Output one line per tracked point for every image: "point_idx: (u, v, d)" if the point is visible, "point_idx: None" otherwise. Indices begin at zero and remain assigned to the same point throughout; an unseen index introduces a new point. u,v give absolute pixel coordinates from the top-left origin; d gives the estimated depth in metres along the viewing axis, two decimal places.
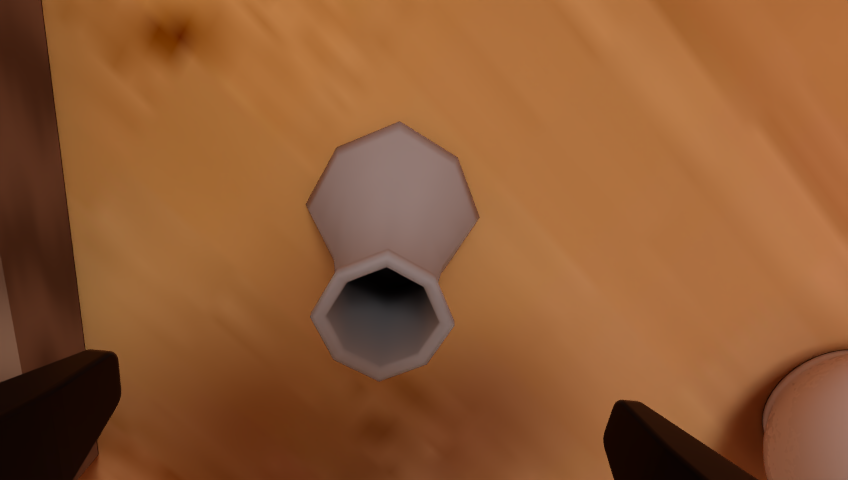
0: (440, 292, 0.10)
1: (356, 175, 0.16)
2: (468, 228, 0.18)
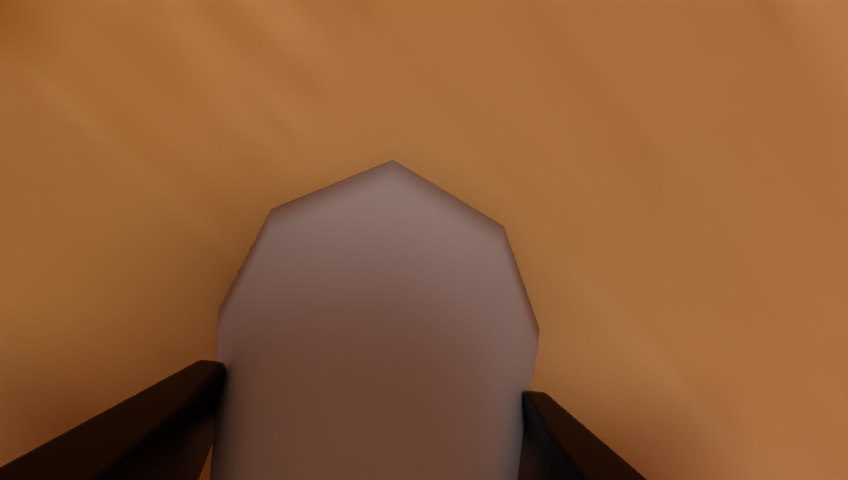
0: None
1: (294, 292, 0.07)
2: (530, 376, 0.09)
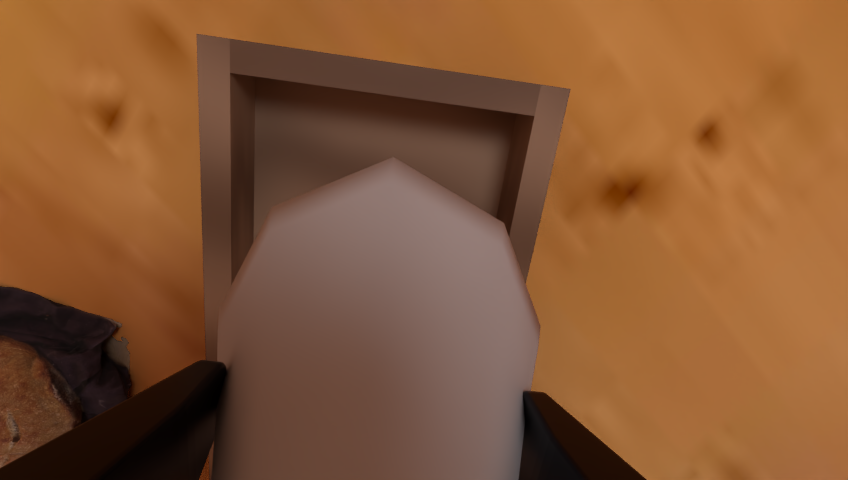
0: None
1: (295, 289, 0.07)
2: (531, 373, 0.09)
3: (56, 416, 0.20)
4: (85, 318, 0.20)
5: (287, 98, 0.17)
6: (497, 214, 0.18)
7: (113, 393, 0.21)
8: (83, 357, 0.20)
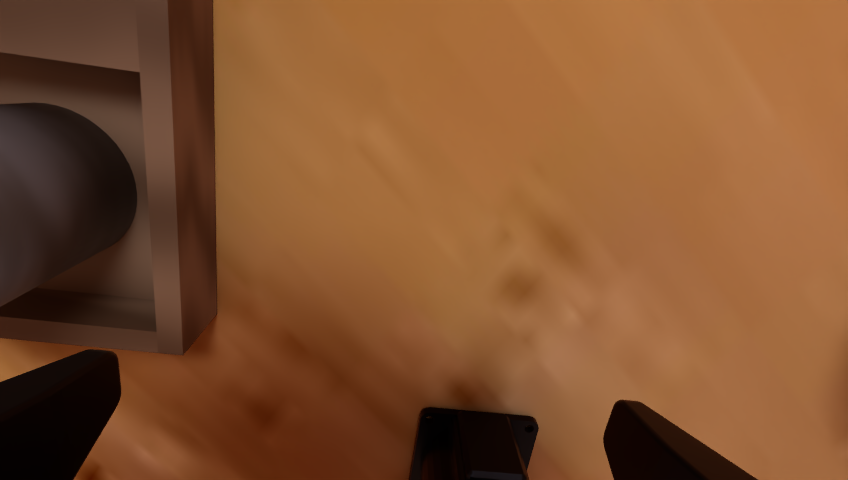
0: None
1: None
2: None
3: None
4: None
5: None
6: None
7: None
8: None
